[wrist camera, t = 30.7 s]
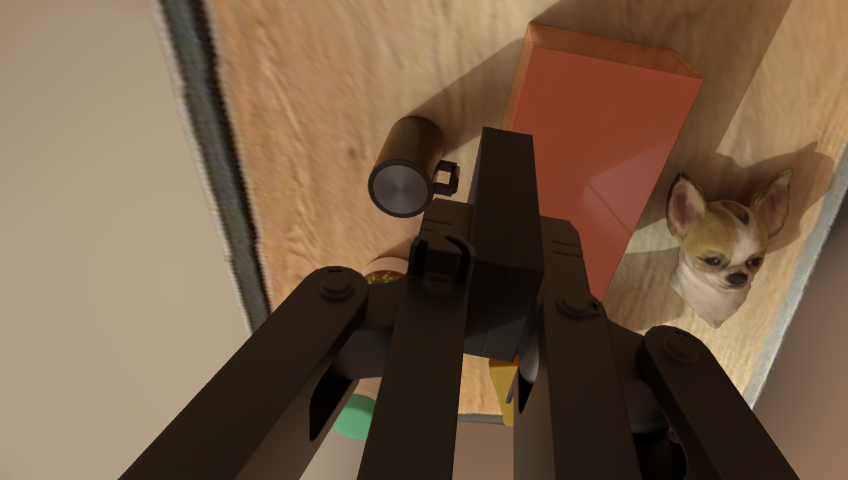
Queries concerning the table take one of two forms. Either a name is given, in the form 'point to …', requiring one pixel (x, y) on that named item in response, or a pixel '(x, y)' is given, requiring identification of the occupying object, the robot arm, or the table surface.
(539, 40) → the reddish-brown box
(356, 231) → the table surface
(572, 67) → the lid
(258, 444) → the robot arm
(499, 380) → the candle
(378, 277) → the milk bottle
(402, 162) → the silver-capped dark cylinder
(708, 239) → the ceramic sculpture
